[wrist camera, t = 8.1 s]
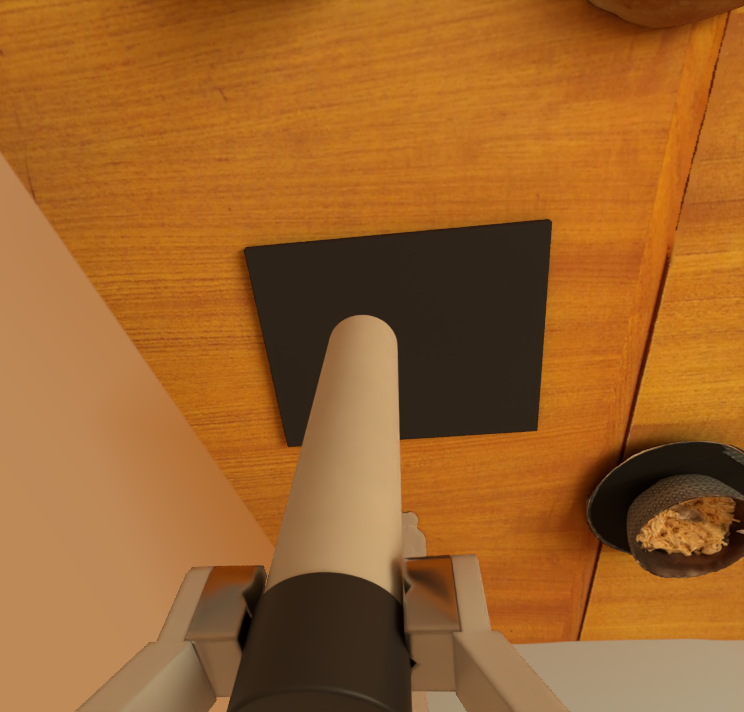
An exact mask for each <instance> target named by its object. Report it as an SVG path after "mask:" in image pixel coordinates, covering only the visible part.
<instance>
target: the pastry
mask: <svg viewBox="0 0 744 712" xmlns="http://www.w3.org/2000/svg"><path fill="white" fill-rule="evenodd" d="M588 1H589V2H591V3H592V4H593V5H595V6H596V7H599V8H601V9H604V10H606V11H609V12H611V13H614V14H616V15H618V16H619V17H621V18H622V19H624V20H625V21H628V22H631V23H635V24H638V25H641V26H644V27H651V28H661V27H674V26H679V25H684V24H688V23H692V22H695V21H699V20H703V19H706V18H709V17H712V16H715V15H718V14H721V13H724V12H727V11H730V10H734V9H737V8H740V7H743V6H744V0H588Z"/></svg>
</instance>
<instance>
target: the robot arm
mask: <svg viewBox="0 0 744 712" xmlns="http://www.w3.org/2000/svg"><path fill="white" fill-rule="evenodd" d="M266 579H267V574H266V572H265V569H264V566H261V565H256V566H213V567H212V566H209V567H192V568H191V569H190V570H189V571H188V573H187V574H186V575H185V578H184V580H183V582H182V584H181V587H180V589H179V591H178V594H177V596H176V598H175V600H174V603H173V605H172V607H171V610H170V612H169V614H168V617H167V619H166V621H165V623H164V626H163V628H162V630H161V633H160V635H159V637H158V639H157V642H149V643H148V644H147V645H146V646H145V647H144V648H143V649H142V650H141V651H140V652H138V653H137V654H136V655H135V656H134V657H133V658H132V659H131V660H130V661H129V662H128V663H126V664H125V665H124V666H123V667H122V668H121V669H120V670H119V671H118V672H117V673H116V674H115V675H114V676H112V677H111V678H110V679H109V680H108V681H107V682H106V683H105V684H104V685H103V686H102V687H101V688H100V689H98V690H97V691H96V692H95V693H94V694H93V695H92V696H91V697H90V698H89V699H88V700H87V701H86V702H85V703H83V705H81V706H80V707H79V708H78V709H77V710H76V711H75V712H208V711H209V710H210V708H211V707H212V706H213V704H214V703H215V702H216V697H231V694H232V690H233V686H234V683H235V679H236V675H237V671H238V668H239V664H240V660H241V657H242V653H243V649H244V645H245V642H246V638H247V634H248V631H249V627H250V623H251V619H252V616H253V612H254V609H255V606H256V604H257V603H258V601H259V599H260V598H261V597H262V596H263V595H264V591H265V587H266V586H265V583H266ZM403 582H404V592H405V596H404V597H403V603H404V633H405V642H406V650H407V652H408V654H409V657H410V658H411V687H412V691H450V692H452V691H453V692H454V691H455V692H456V695H457V696H458V698H459V700H460V701H461V703H462V704H463V706H464V708H465V709H466V711H467V712H570V711H569V710H568V709H567V708H566V706H565V705H564V704H563V703H562V702H561V701H560V700H559V698H558V697H557V696H556V695H555V694H554V693H553V692H552V690H551V689H550V688H549V687H548V686H547V685H546V684H545V682H544V681H543V680H542V679H541V678H540V677H539V676H538V674H537V673H536V672H535V671H534V670H533V669H532V668H531V667H530V665H529V664H528V663H527V662H526V661H525V660H524V659H523V657H522V656H521V655H520V654H519V653H518V652H517V651H516V649H515V648H514V647H513V646H512V645H511V644H510V642H509V641H508V640H507V639H506V638H505V637H504V636H503V635H502V633H501V632H500V631H491V626H490V621H489V616H488V611H487V605H486V600H485V595H484V589H483V584H482V579H481V574H480V568H479V563H478V558H477V557H476V555H475V554H471V555H451V557H450V555H441V556H424V557H408V558H403Z"/></svg>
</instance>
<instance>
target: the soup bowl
mask: <svg viewBox="0 0 744 712" xmlns="http://www.w3.org/2000/svg"><path fill="white" fill-rule="evenodd" d="M586 514H587V515H586V517H587V520H588V522H587V523H588V525H589V526H590V530H591V531H592V533H593V534H594V535H595V536H596V537H597V538H598V539H599V540H600V541H601V542H603V543H604V544H605V545H607V546H609V547H611V548H614V549H617V550H620V551H622V552H625V553H628V554H630V555H633V557H634V558H635V560H636V561H637V563H638V564H639V565H640V566H641V567H642V568H643V569H644V570H646V571H649V572H650V573H652V574H653V575H656V576H660V577H664V578H689V577H697V576H701V575H706V574H708V573H711V572H717V571H719V570H720V569H723V568H726V567H728V566H730V565H731V564H733V563H735V562H736V561H738V560H739V559H740V558H741V557H744V451H743V450H741V449H739V448H737V447H735V446H732V445H726V444H721V443H717V442H708V441H694V442H692V441H682V442H676V443H669V444H663V445H658V446H656V447H653V448H649V449H646V450H644V451H641V452H639V453H637V454H635V455H632V456H631V457H629V458H628V459H627V460H626V461H624V462H623V463H621V464H620V465H619V466H617V467H616V468H614V469H613V470H612V471H611V472H610V473H609V474H607V476H605V478H603V480H602V482H601V483H600V484H599V485H598V486H597V488H596V489H595V490H594V491H593V492H592V493H591V495H589V497H588V499H587V503H586Z"/></svg>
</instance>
